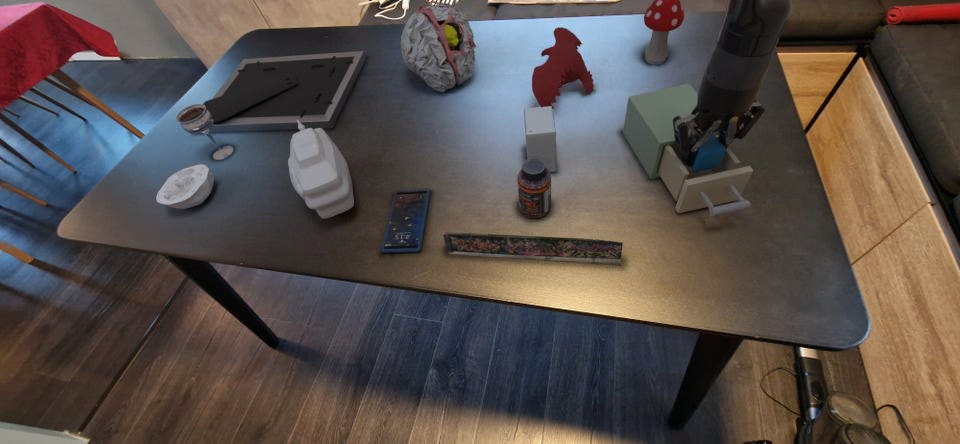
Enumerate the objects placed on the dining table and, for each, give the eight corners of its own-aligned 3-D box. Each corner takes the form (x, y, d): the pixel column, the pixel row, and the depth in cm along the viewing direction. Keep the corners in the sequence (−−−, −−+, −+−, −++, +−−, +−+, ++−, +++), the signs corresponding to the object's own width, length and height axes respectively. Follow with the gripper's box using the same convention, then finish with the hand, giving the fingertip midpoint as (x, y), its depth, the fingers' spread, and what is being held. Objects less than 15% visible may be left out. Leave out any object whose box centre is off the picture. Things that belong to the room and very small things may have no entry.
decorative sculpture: (424, 112, 116) (430, 89, 96) (385, 43, 114) (383, 5, 94) (482, 82, 119) (499, 53, 99) (445, 14, 117) (455, -29, 97)
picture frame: (196, 133, 112) (332, 128, 105) (187, 122, 109) (326, 116, 102) (247, 65, 130) (366, 58, 123) (240, 55, 127) (362, 46, 120)
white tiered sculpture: (350, 162, 96) (320, 104, 84) (370, 216, 85) (339, 159, 73) (303, 181, 94) (265, 124, 82) (317, 239, 83) (276, 184, 71)
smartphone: (430, 188, 86) (420, 250, 77) (431, 191, 87) (421, 252, 78) (394, 190, 87) (380, 251, 78) (395, 193, 88) (381, 254, 79)
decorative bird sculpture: (585, 70, 113) (547, 27, 107) (614, 50, 105) (575, 3, 100) (557, 141, 97) (511, 95, 92) (588, 123, 90) (541, 73, 85)
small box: (556, 172, 86) (556, 132, 77) (528, 175, 86) (525, 135, 78) (552, 145, 91) (552, 104, 82) (526, 148, 91) (523, 107, 83)
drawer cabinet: (712, 165, 81) (727, 128, 74) (650, 179, 81) (659, 143, 74) (678, 120, 90) (689, 83, 83) (622, 132, 90) (628, 96, 83)
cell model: (233, 185, 97) (214, 163, 92) (191, 224, 91) (169, 203, 85) (203, 174, 101) (184, 153, 95) (162, 211, 94) (139, 191, 89)
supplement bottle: (515, 216, 80) (510, 174, 71) (525, 193, 83) (522, 150, 75) (545, 223, 78) (545, 181, 70) (555, 199, 82) (555, 156, 73)
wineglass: (239, 154, 104) (207, 114, 94) (211, 166, 102) (176, 127, 93) (234, 139, 108) (203, 99, 98) (207, 151, 106) (174, 112, 97)
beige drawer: (754, 221, 72) (772, 192, 66) (691, 235, 72) (703, 207, 66) (701, 151, 83) (712, 121, 77) (647, 163, 83) (654, 134, 77)
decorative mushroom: (673, 70, 101) (689, 6, 89) (635, 68, 103) (645, 6, 91) (674, 47, 106) (690, -16, 94) (638, 46, 109) (648, -16, 97)
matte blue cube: (718, 167, 73) (726, 149, 69) (694, 172, 72) (701, 154, 69) (706, 151, 75) (713, 132, 72) (683, 156, 75) (689, 138, 72)
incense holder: (447, 254, 77) (441, 236, 73) (448, 248, 78) (442, 230, 74) (620, 265, 71) (624, 247, 67) (620, 258, 72) (624, 240, 67)
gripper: (698, 98, 58) (670, 184, 71) (800, 76, 58) (754, 166, 71) (673, 69, 62) (651, 154, 76) (768, 48, 62) (730, 137, 76)
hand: (701, 159), depth 73 cm, fingers closed on matte blue cube, 4 cm apart
